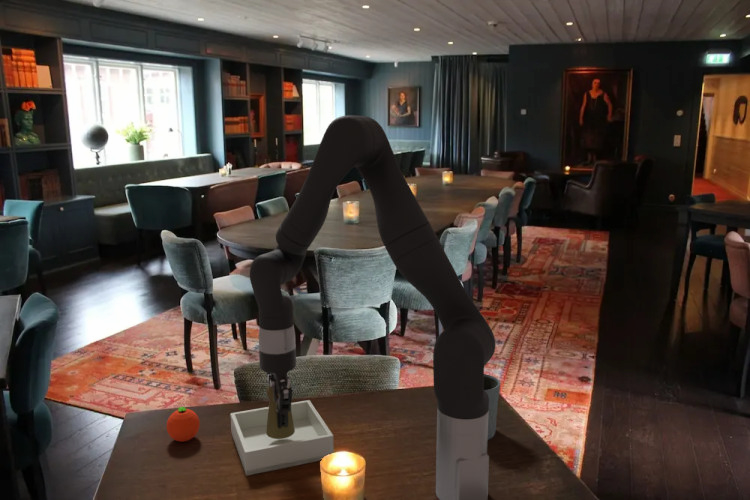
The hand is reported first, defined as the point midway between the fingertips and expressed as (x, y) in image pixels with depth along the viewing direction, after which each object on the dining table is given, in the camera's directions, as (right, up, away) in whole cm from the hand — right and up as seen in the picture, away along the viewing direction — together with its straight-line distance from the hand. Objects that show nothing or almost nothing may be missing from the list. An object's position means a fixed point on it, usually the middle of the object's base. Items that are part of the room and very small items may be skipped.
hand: (280, 422), depth 133 cm
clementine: (-22, -5, +4) cm, 23 cm away
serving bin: (0, -5, +1) cm, 5 cm away
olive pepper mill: (0, -2, +1) cm, 2 cm away
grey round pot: (+43, -4, +7) cm, 44 cm away
